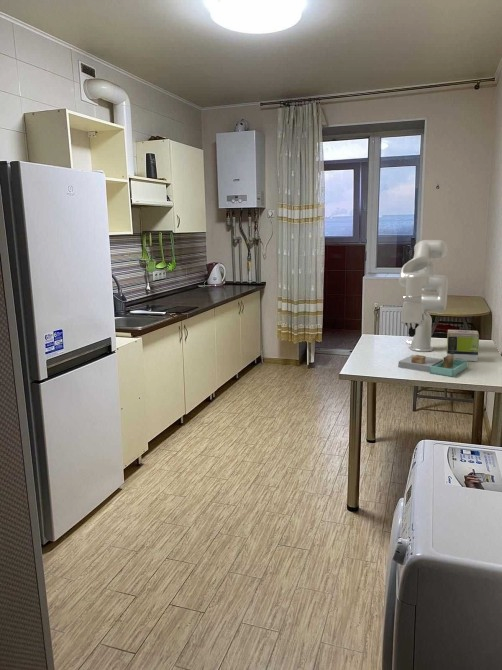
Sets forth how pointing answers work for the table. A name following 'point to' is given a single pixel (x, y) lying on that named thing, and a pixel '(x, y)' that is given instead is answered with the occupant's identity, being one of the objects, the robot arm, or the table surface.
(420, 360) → the wooden block
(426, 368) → the board
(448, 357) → the brown angular block
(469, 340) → the tea box
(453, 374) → the tray
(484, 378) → the table surface
